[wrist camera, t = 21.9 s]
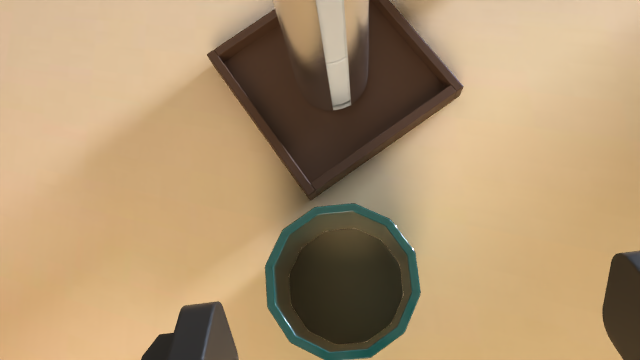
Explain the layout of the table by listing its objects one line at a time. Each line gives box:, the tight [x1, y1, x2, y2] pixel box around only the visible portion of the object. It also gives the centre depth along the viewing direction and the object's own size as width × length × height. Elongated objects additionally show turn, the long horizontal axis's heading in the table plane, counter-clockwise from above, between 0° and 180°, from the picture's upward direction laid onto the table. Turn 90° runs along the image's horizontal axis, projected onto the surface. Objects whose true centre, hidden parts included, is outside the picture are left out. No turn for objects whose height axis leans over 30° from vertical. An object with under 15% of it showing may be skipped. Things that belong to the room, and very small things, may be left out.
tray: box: [207, 0, 463, 200], centre depth 47 cm, size 17×17×2 cm
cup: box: [265, 203, 421, 360], centre depth 40 cm, size 11×11×8 cm
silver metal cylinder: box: [273, 0, 369, 111], centre depth 35 cm, size 6×6×25 cm
